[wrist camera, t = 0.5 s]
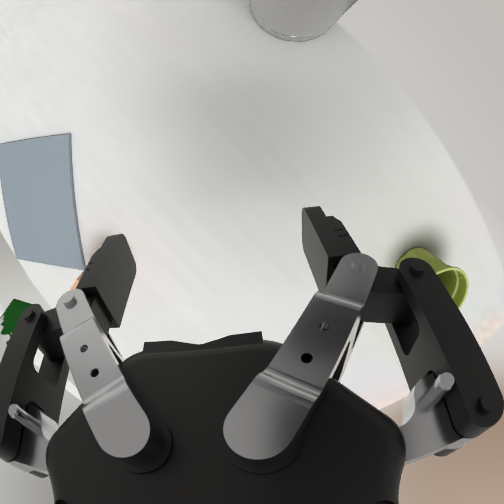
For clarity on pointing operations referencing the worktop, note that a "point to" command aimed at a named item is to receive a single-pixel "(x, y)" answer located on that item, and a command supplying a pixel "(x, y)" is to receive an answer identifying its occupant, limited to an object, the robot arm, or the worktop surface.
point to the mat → (41, 200)
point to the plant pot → (443, 274)
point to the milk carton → (10, 322)
